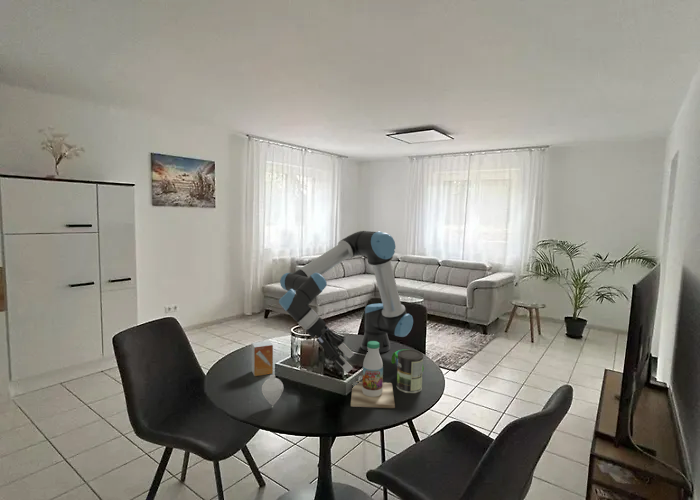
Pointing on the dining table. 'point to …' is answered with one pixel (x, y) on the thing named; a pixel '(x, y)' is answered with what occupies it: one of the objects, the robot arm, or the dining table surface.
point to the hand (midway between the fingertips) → (351, 362)
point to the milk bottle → (372, 371)
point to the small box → (262, 358)
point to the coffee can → (409, 371)
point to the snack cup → (397, 357)
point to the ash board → (380, 401)
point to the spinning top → (272, 389)
